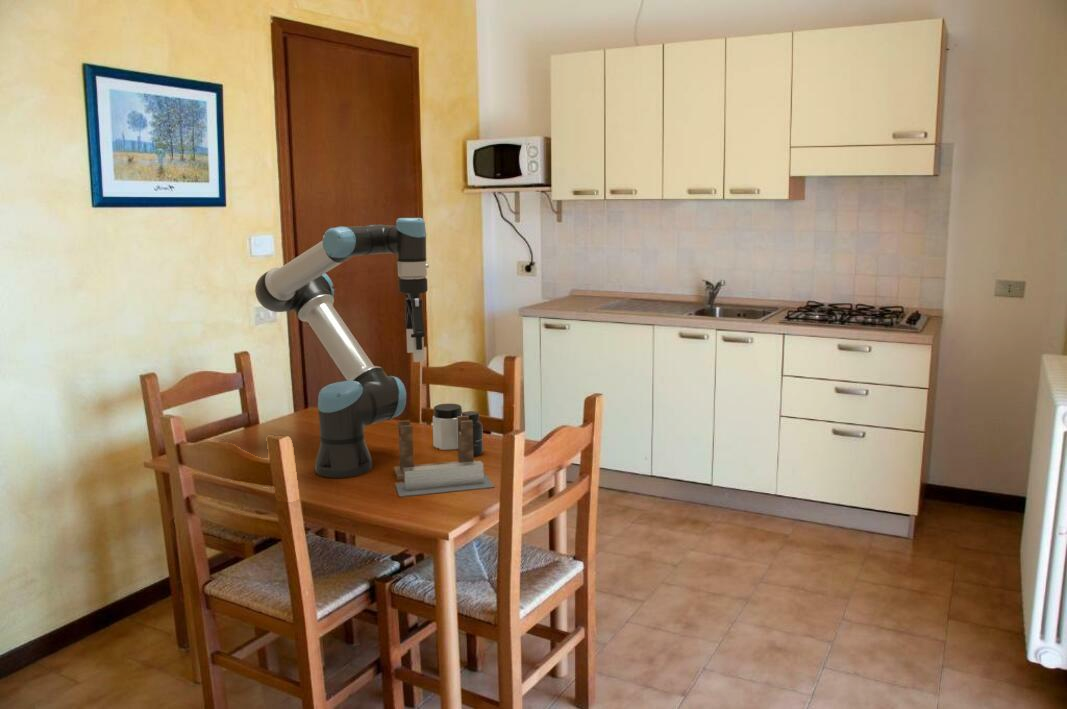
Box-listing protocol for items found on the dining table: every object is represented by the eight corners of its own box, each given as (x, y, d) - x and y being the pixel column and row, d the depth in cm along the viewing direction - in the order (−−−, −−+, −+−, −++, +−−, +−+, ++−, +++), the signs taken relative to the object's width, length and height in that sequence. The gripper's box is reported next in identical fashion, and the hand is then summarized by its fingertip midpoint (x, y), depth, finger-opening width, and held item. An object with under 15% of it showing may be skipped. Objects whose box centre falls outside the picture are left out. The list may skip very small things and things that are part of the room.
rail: (405, 490, 212) (405, 471, 211) (404, 486, 215) (403, 467, 214) (483, 482, 218) (483, 464, 217) (481, 479, 220) (480, 460, 219)
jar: (468, 446, 250) (467, 407, 247) (445, 452, 245) (444, 412, 242) (451, 440, 256) (450, 401, 254) (428, 445, 251) (427, 406, 249)
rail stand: (397, 479, 221) (395, 428, 219) (394, 470, 229) (392, 420, 226) (479, 472, 227) (478, 421, 224) (473, 463, 234) (472, 414, 232)
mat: (399, 497, 209) (399, 496, 209) (394, 484, 218) (394, 483, 218) (494, 487, 215) (494, 486, 215) (485, 475, 224) (485, 474, 224)
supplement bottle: (483, 456, 240) (482, 415, 238) (458, 457, 240) (457, 416, 237) (483, 449, 247) (482, 409, 244) (459, 450, 246) (458, 410, 244)
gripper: (434, 281, 211) (436, 364, 215) (420, 272, 234) (423, 347, 238) (404, 282, 209) (407, 366, 213) (393, 273, 233) (396, 349, 237)
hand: (415, 357), depth 226 cm, fingers open, 13 cm apart
